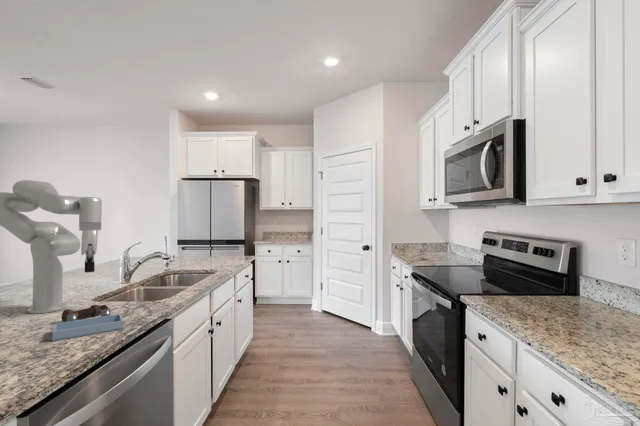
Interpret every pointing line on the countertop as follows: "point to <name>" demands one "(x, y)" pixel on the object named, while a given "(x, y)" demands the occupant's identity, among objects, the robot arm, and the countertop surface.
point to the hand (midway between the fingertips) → (89, 270)
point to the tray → (87, 327)
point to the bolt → (84, 312)
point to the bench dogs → (74, 316)
